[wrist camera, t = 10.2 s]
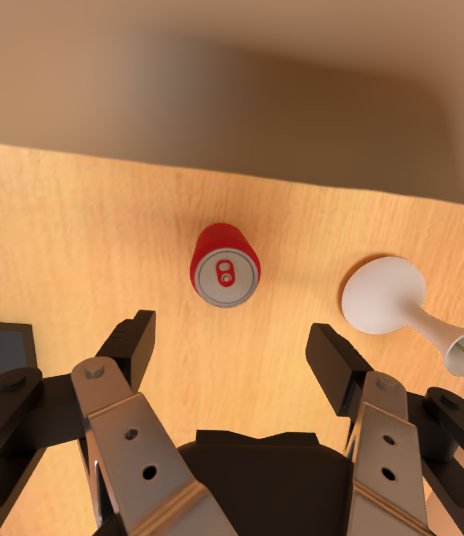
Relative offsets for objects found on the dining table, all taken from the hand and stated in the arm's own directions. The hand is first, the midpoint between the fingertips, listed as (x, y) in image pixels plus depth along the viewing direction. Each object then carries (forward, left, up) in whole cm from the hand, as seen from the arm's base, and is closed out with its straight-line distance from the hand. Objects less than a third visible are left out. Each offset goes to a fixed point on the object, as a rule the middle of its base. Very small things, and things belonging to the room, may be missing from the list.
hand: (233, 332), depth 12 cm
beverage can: (0, 0, -20) cm, 20 cm away
